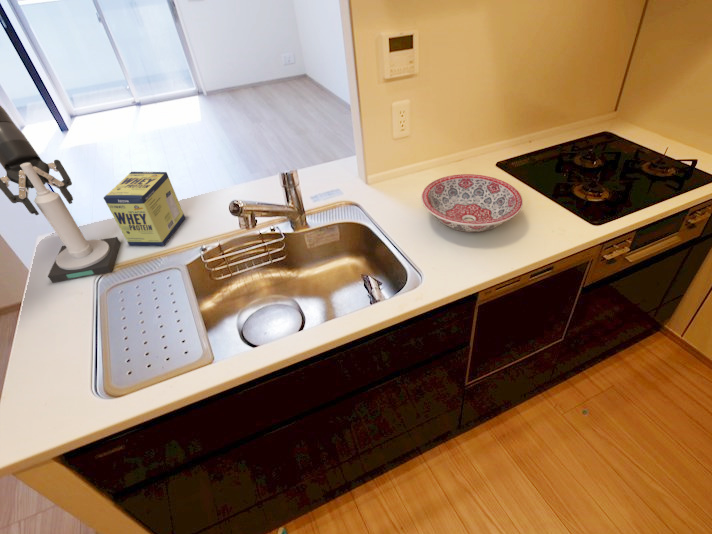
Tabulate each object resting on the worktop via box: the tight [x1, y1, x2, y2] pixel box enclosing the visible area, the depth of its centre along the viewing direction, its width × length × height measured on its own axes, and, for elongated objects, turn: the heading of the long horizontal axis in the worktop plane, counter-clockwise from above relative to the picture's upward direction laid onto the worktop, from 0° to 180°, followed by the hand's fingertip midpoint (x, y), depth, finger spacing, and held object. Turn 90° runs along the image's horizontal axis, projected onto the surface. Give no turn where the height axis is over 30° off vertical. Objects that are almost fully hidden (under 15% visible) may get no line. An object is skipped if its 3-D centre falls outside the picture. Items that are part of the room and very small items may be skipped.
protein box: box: [103, 171, 186, 247], centre depth 121 cm, size 10×16×16 cm
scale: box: [47, 236, 121, 284], centre depth 115 cm, size 14×14×3 cm
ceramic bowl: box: [421, 173, 524, 233], centre depth 126 cm, size 29×29×8 cm
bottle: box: [20, 163, 92, 258], centre depth 106 cm, size 5×5×25 cm
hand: (54, 207), depth 103 cm, fingers open, 6 cm apart
